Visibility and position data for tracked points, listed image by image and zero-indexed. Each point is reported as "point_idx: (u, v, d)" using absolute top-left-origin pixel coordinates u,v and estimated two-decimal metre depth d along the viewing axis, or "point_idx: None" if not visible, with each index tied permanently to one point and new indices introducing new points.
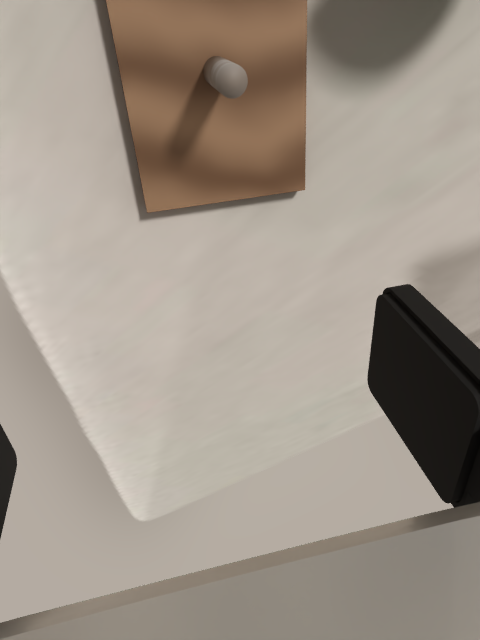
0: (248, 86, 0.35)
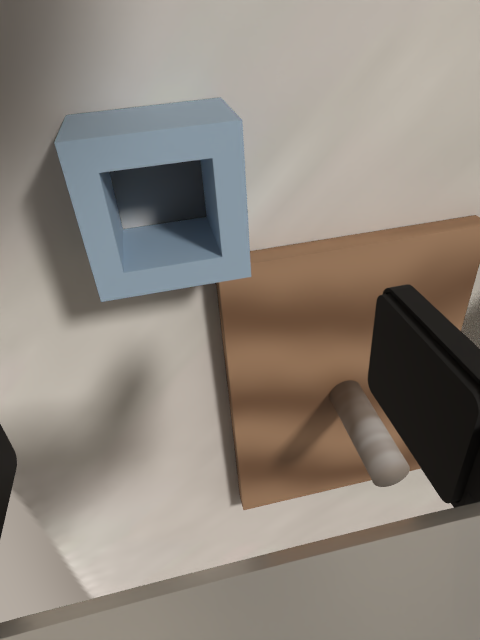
0: None
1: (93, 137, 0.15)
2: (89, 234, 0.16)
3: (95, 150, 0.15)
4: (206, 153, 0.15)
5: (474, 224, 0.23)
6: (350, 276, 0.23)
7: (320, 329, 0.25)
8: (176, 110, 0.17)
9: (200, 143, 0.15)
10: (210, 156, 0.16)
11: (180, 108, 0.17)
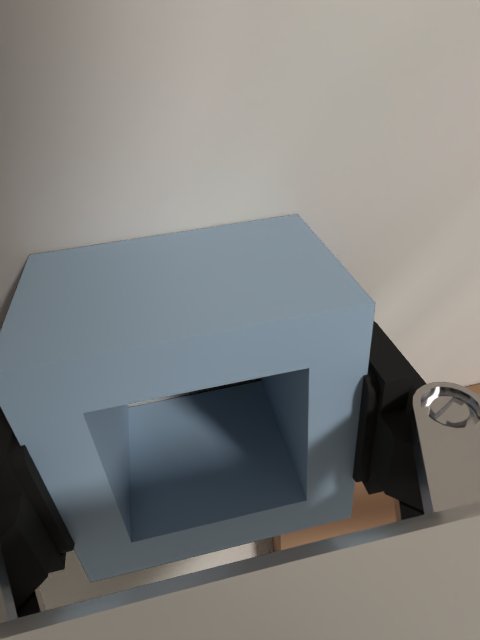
0: None
1: (70, 356, 0.07)
2: (66, 502, 0.08)
3: (74, 379, 0.07)
4: (298, 361, 0.08)
5: None
6: None
7: None
8: (228, 253, 0.09)
9: (288, 347, 0.08)
10: (305, 365, 0.08)
11: (234, 247, 0.09)
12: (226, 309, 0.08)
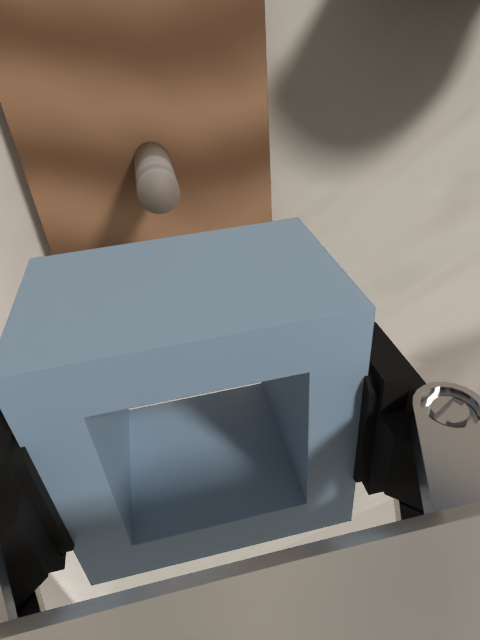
0: (194, 175, 0.28)
1: (71, 361, 0.07)
2: (67, 506, 0.08)
3: (75, 383, 0.07)
4: (298, 366, 0.08)
5: None
6: None
7: (96, 57, 0.23)
8: (229, 257, 0.09)
9: (289, 352, 0.08)
10: (305, 369, 0.08)
11: (235, 250, 0.09)
12: (227, 314, 0.08)
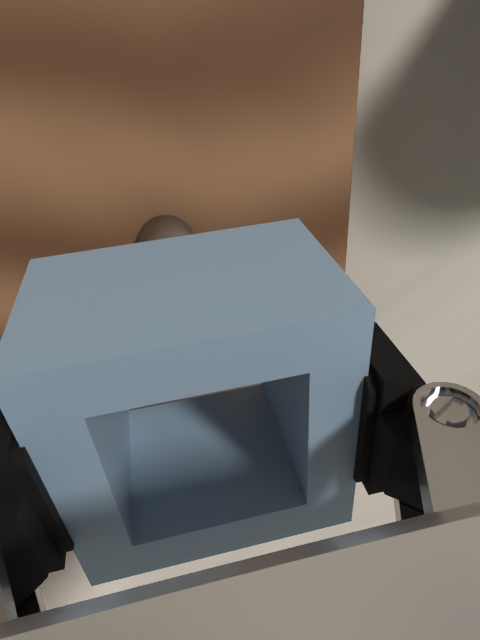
0: None
1: (71, 362, 0.07)
2: (67, 506, 0.08)
3: (76, 384, 0.07)
4: (298, 367, 0.08)
5: None
6: None
7: (74, 83, 0.13)
8: (229, 258, 0.09)
9: (289, 352, 0.08)
10: (305, 370, 0.08)
11: (235, 251, 0.09)
12: (227, 314, 0.08)
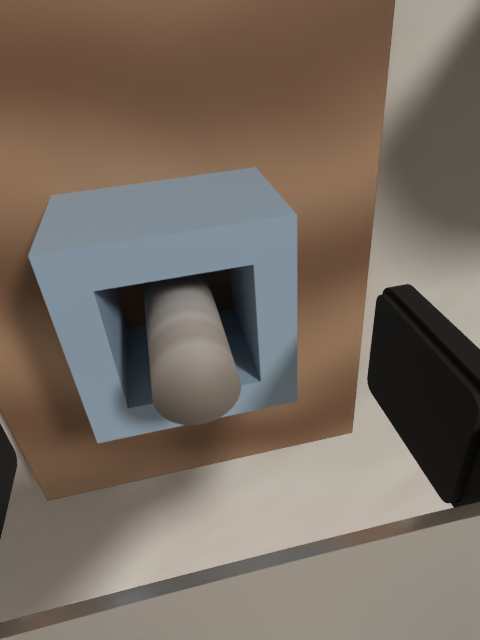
0: None
1: (85, 246, 0.10)
2: (80, 367, 0.12)
3: (88, 263, 0.10)
4: (245, 259, 0.11)
5: None
6: None
7: (72, 102, 0.12)
8: (199, 191, 0.12)
9: (237, 247, 0.11)
10: (250, 262, 0.11)
11: (205, 187, 0.13)
12: (193, 220, 0.11)
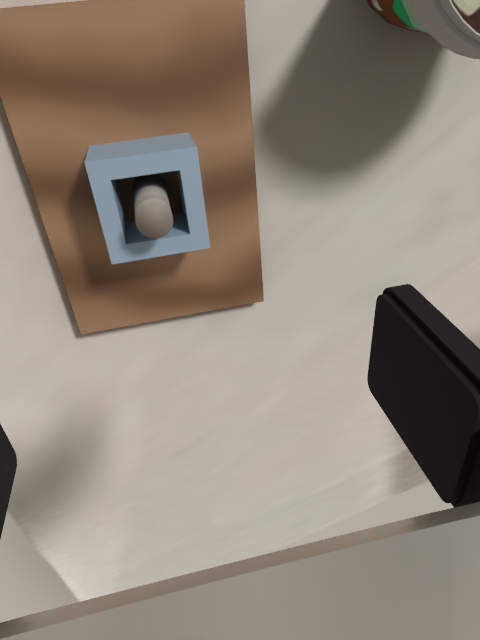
0: None
1: (107, 158, 0.24)
2: (104, 219, 0.26)
3: (108, 166, 0.25)
4: (176, 167, 0.25)
5: None
6: (113, 36, 0.25)
7: (100, 100, 0.26)
8: (158, 141, 0.27)
9: (172, 161, 0.25)
10: (178, 169, 0.25)
11: (161, 140, 0.27)
12: (153, 150, 0.25)
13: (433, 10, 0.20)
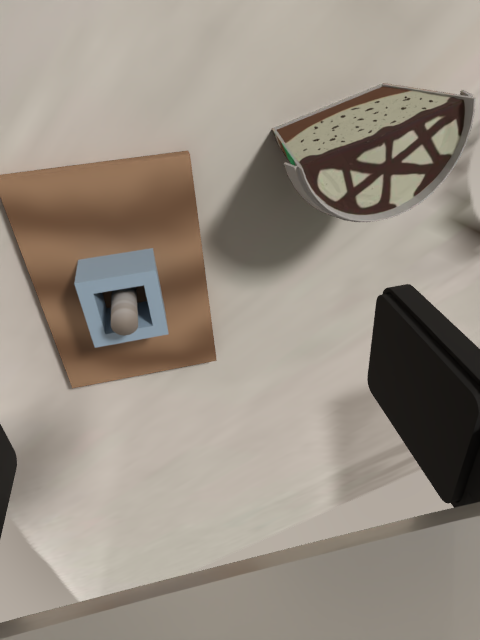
0: None
1: (90, 280, 0.34)
2: (88, 318, 0.36)
3: (91, 285, 0.34)
4: (141, 283, 0.35)
5: (180, 154, 0.35)
6: (95, 190, 0.34)
7: (86, 230, 0.36)
8: (129, 259, 0.36)
9: (137, 280, 0.35)
10: (143, 284, 0.35)
11: (131, 257, 0.37)
12: (124, 271, 0.35)
13: (310, 200, 0.30)
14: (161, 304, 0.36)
